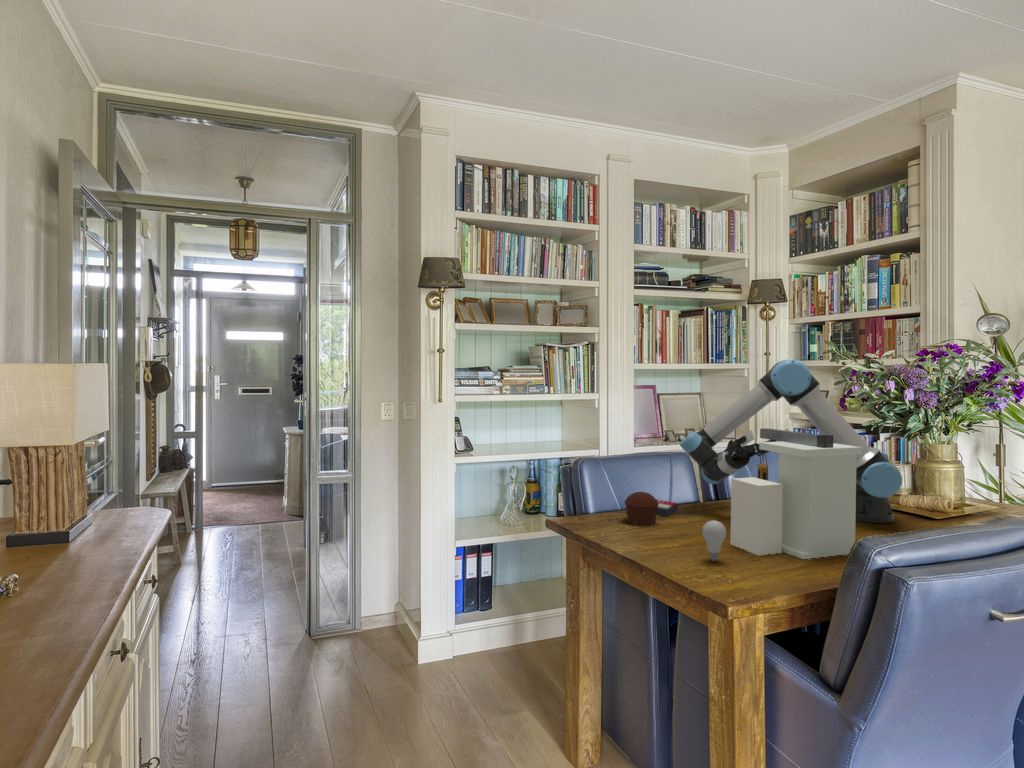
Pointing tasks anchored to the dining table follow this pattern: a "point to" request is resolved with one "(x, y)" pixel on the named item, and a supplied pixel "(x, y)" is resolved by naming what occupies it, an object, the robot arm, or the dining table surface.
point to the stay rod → (797, 437)
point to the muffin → (641, 508)
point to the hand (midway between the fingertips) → (771, 433)
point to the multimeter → (763, 469)
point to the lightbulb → (714, 538)
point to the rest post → (756, 515)
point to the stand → (817, 498)
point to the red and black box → (666, 508)
